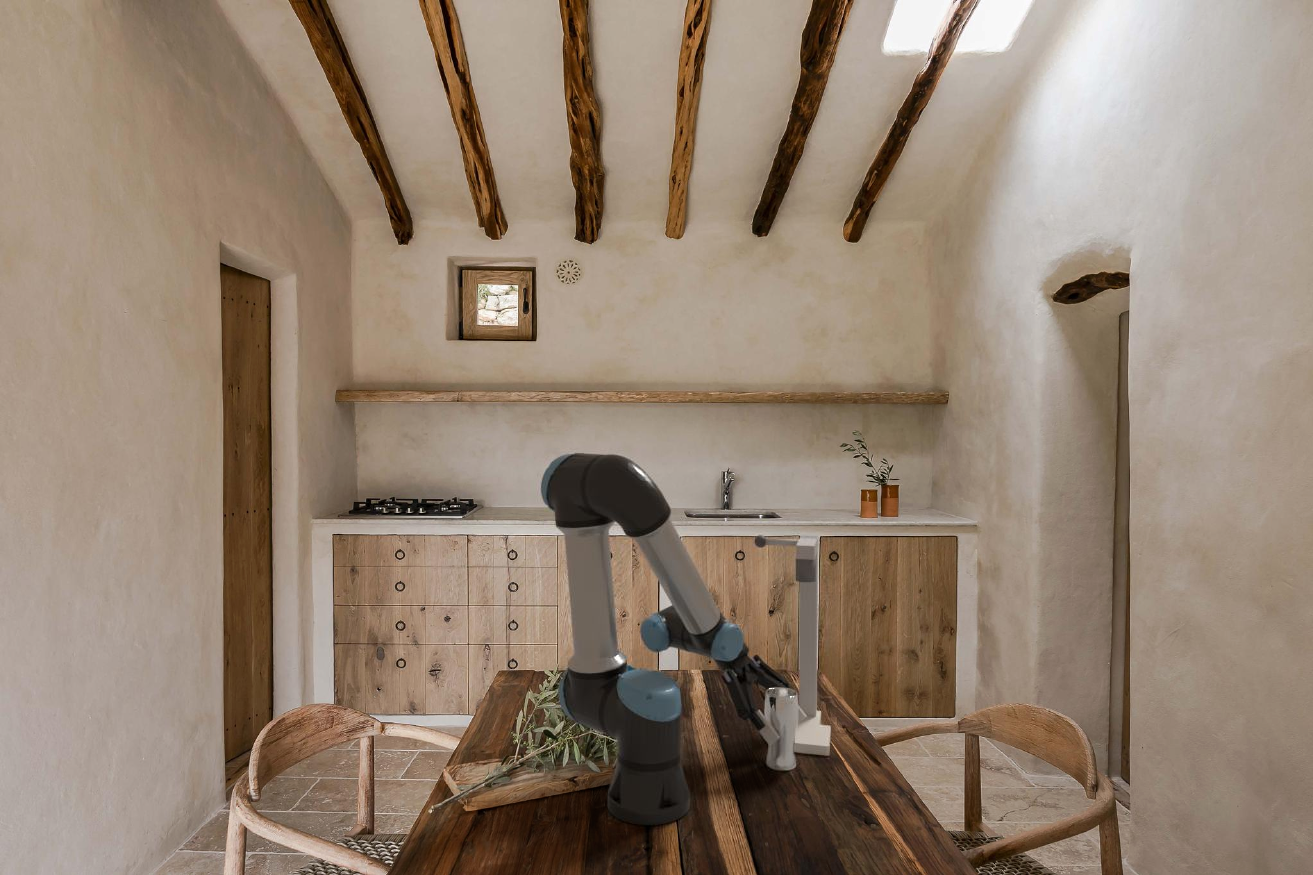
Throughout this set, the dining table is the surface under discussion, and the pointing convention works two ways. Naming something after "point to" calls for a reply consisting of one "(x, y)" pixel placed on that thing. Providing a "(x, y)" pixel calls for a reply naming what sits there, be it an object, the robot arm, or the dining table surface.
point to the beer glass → (782, 726)
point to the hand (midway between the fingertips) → (789, 730)
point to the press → (806, 644)
